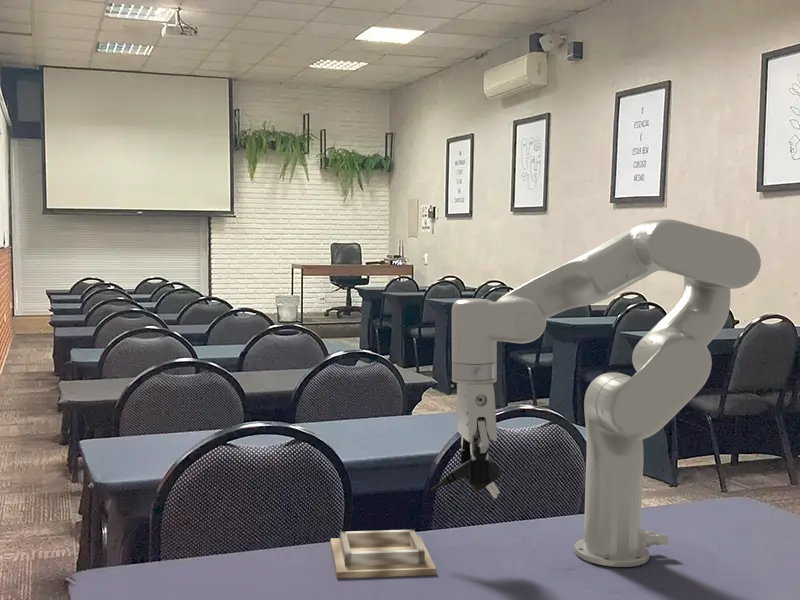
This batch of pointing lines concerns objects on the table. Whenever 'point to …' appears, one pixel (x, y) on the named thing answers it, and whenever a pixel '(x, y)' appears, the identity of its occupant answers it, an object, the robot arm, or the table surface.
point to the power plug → (464, 472)
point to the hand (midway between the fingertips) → (474, 477)
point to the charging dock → (380, 554)
